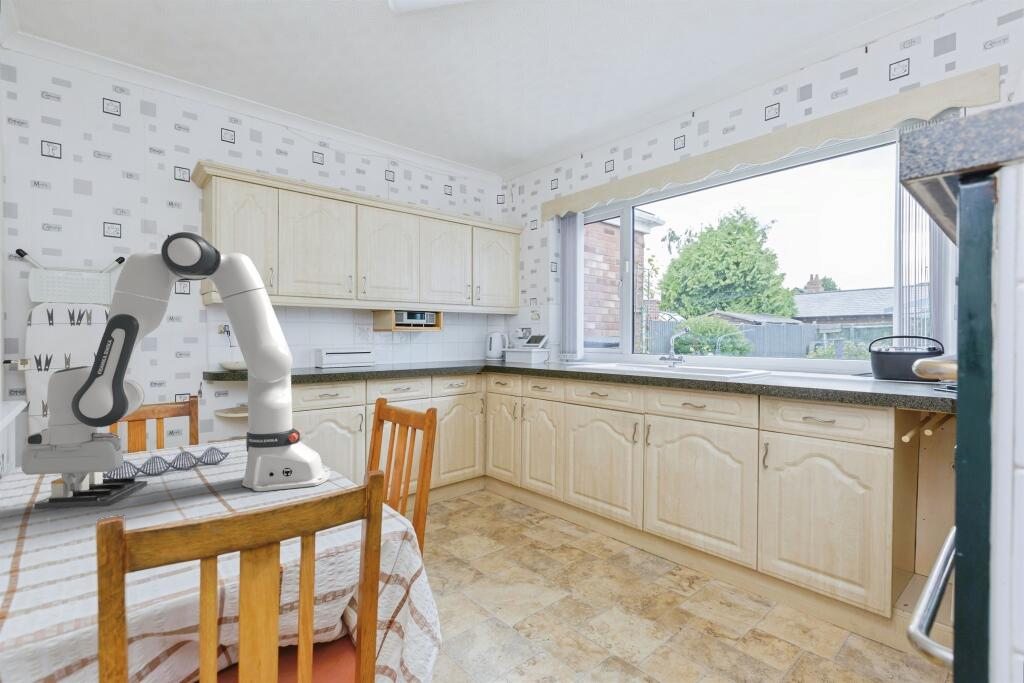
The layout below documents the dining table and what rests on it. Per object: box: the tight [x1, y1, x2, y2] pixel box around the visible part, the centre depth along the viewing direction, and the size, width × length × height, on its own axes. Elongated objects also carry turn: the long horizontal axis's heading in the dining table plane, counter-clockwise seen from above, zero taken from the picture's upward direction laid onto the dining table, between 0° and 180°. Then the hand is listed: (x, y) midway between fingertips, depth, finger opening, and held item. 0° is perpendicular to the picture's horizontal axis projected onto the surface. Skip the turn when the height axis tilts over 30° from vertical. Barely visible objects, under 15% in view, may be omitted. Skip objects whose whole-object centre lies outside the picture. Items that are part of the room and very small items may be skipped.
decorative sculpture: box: [103, 445, 230, 479], centre depth 144 cm, size 6×31×6 cm, turn 138°
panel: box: [34, 477, 148, 509], centre depth 123 cm, size 16×15×2 cm
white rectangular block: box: [73, 472, 89, 490], centre depth 123 cm, size 2×3×5 cm
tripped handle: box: [50, 477, 73, 498], centre depth 118 cm, size 2×3×5 cm
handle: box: [89, 472, 104, 484], centre depth 128 cm, size 2×3×5 cm
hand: (74, 490), depth 118 cm, fingers closed
